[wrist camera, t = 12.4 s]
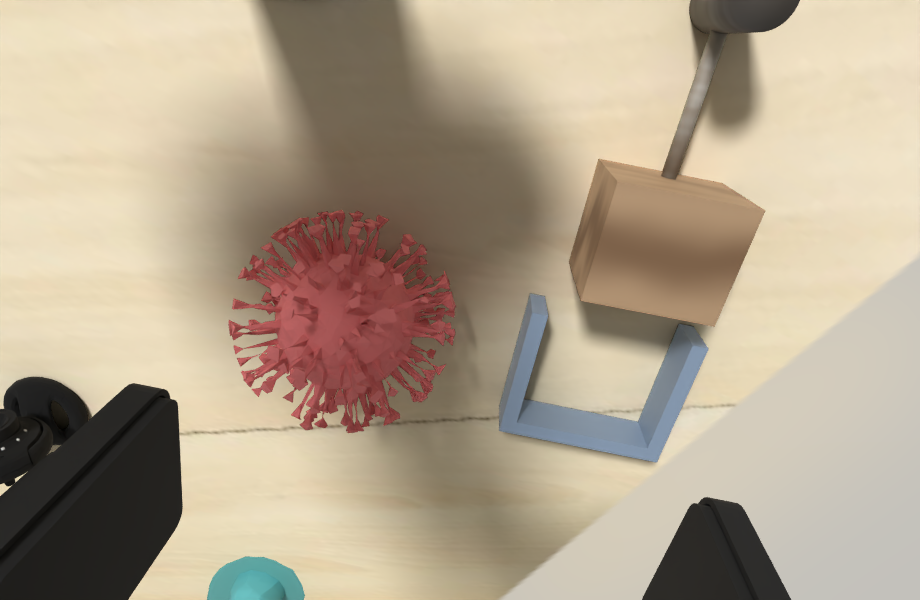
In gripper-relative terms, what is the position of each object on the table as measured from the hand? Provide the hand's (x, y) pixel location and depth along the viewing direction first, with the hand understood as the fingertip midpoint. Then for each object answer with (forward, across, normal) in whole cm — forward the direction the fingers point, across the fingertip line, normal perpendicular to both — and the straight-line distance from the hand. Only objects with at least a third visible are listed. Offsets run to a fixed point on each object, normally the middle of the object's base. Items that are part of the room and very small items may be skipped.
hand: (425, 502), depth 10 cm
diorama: (+33, +15, +55) cm, 66 cm away
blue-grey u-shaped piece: (+32, -12, +14) cm, 38 cm away
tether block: (+32, -13, -4) cm, 35 cm away
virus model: (+32, +7, +11) cm, 35 cm away
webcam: (+32, +36, +31) cm, 57 cm away
